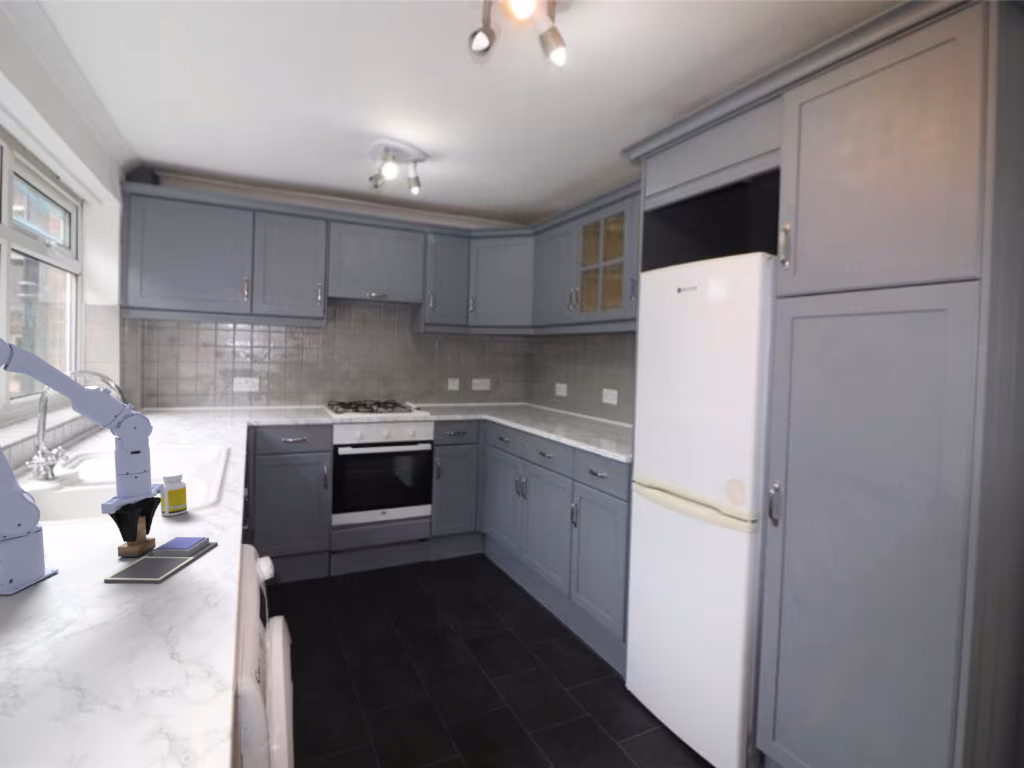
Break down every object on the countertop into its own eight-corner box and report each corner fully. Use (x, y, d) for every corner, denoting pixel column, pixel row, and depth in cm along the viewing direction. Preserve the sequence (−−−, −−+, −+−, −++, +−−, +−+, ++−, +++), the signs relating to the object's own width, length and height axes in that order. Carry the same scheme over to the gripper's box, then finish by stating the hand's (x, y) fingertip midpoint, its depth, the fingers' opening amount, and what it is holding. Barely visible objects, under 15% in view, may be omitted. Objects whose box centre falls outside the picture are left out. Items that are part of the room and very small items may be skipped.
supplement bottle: (192, 510, 135) (190, 472, 134) (176, 517, 130) (174, 477, 129) (172, 509, 136) (170, 471, 135) (155, 516, 130) (153, 476, 130)
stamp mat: (159, 583, 94) (159, 572, 94) (104, 582, 95) (103, 571, 95) (217, 544, 112) (217, 535, 112) (170, 544, 113) (170, 535, 112)
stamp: (138, 556, 105) (136, 522, 105) (118, 556, 105) (116, 522, 105) (155, 547, 110) (153, 514, 110) (136, 546, 110) (134, 513, 110)
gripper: (126, 481, 99) (129, 552, 100) (176, 463, 114) (179, 525, 115) (88, 480, 99) (92, 551, 100) (144, 463, 114) (146, 525, 115)
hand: (136, 537), depth 107 cm, fingers closed on stamp, 3 cm apart
